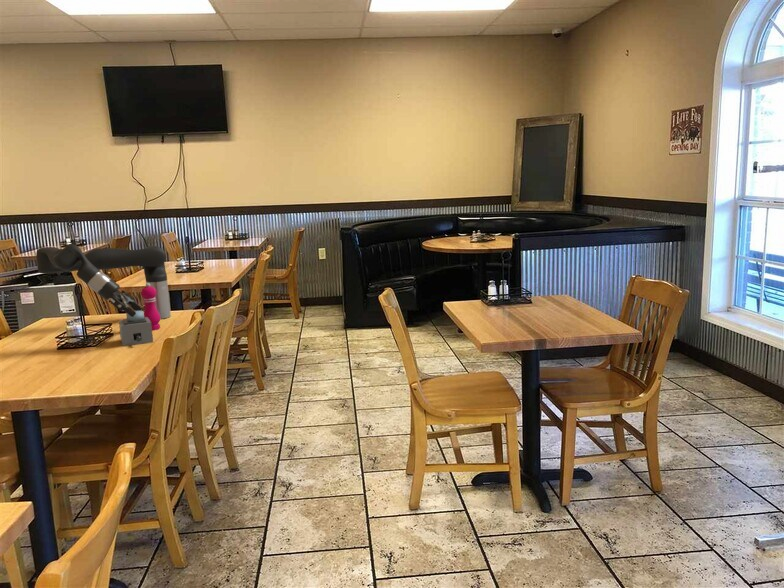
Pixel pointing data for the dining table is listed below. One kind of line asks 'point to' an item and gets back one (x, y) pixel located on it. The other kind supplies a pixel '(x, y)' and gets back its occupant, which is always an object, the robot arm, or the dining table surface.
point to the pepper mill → (151, 306)
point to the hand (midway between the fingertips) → (137, 312)
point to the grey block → (135, 331)
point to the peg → (136, 318)
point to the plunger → (137, 337)
